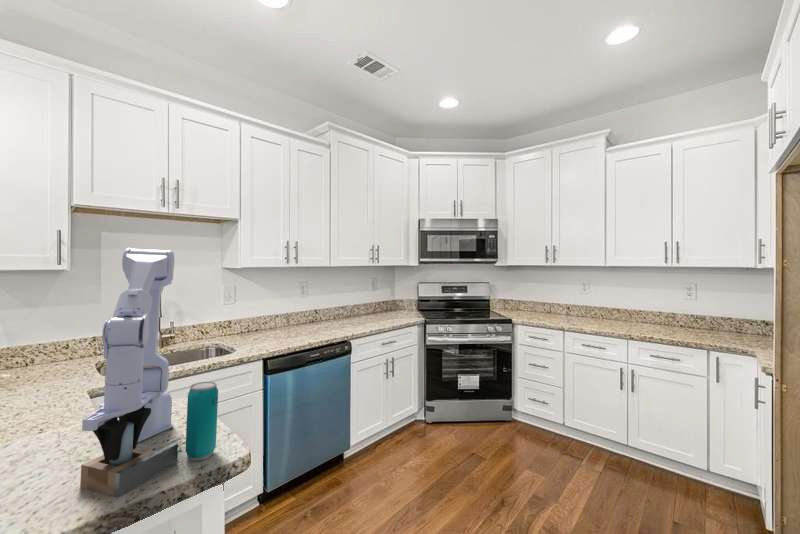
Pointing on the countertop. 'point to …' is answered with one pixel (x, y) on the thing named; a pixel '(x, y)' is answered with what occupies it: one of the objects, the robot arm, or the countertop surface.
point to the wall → (145, 469)
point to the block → (106, 472)
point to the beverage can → (201, 420)
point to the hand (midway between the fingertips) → (120, 453)
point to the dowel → (125, 446)
